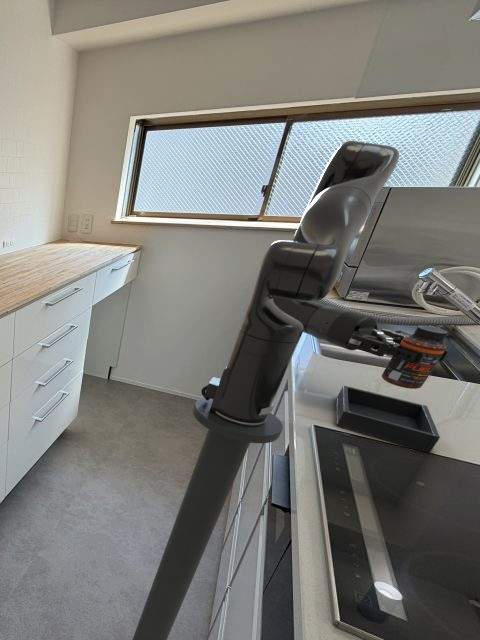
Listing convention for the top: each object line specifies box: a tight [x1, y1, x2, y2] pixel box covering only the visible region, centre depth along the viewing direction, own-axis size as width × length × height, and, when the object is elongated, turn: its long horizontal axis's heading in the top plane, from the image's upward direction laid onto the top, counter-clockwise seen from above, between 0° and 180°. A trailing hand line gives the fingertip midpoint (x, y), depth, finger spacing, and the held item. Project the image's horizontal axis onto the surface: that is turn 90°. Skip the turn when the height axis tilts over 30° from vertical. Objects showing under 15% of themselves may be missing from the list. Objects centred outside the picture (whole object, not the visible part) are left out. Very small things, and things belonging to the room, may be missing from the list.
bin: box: [335, 384, 441, 454], centre depth 84 cm, size 14×16×4 cm
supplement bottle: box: [381, 325, 449, 390], centre depth 78 cm, size 6×6×11 cm
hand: (433, 357), depth 76 cm, fingers closed on supplement bottle, 6 cm apart
